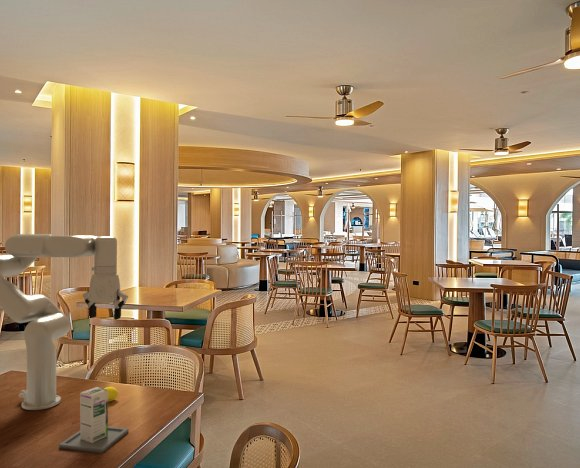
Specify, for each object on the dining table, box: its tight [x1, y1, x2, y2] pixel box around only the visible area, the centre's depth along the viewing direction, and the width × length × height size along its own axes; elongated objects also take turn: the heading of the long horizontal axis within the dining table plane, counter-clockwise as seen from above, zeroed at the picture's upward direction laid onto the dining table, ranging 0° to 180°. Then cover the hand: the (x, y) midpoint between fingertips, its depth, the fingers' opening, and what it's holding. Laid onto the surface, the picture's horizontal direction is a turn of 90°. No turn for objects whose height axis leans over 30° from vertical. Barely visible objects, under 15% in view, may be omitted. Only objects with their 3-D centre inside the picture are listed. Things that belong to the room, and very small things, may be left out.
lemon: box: [104, 386, 119, 403], centre depth 169 cm, size 7×5×5 cm
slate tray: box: [58, 425, 129, 454], centre depth 138 cm, size 14×14×1 cm
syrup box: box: [79, 386, 109, 443], centre depth 138 cm, size 6×6×14 cm
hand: (105, 318), depth 163 cm, fingers open, 9 cm apart
